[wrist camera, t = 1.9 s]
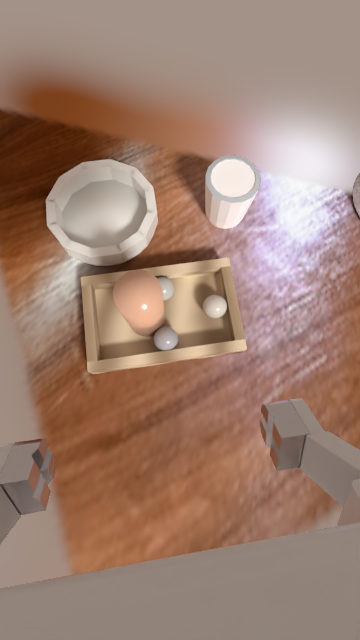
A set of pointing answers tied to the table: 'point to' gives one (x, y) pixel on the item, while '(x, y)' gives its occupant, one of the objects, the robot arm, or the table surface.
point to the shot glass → (230, 190)
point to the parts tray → (180, 314)
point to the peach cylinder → (140, 301)
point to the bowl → (102, 212)
